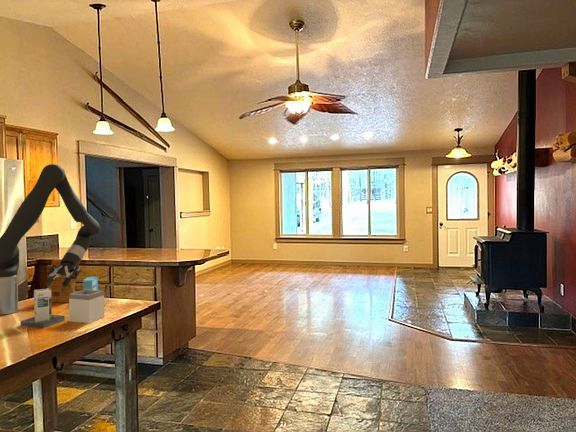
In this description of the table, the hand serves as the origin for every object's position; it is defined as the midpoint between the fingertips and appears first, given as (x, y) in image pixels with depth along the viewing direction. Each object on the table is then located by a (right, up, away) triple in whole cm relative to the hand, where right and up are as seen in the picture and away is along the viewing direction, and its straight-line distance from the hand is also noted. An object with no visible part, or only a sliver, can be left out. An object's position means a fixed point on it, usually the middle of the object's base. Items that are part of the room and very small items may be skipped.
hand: (55, 285), depth 189 cm
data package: (0, -14, +34) cm, 37 cm away
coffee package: (-15, -14, +34) cm, 39 cm away
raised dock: (+14, -15, 0) cm, 21 cm away
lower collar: (-2, -15, -6) cm, 16 cm away
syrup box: (-2, -15, -6) cm, 17 cm away
